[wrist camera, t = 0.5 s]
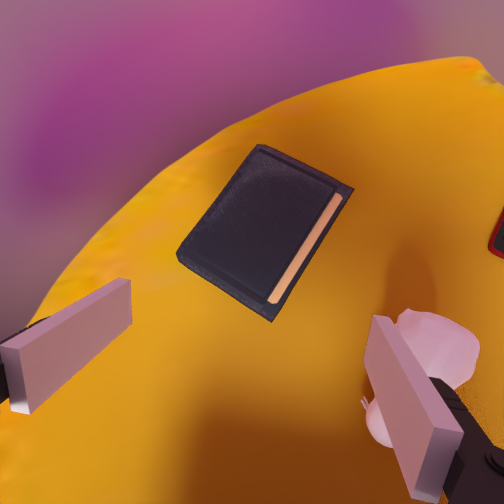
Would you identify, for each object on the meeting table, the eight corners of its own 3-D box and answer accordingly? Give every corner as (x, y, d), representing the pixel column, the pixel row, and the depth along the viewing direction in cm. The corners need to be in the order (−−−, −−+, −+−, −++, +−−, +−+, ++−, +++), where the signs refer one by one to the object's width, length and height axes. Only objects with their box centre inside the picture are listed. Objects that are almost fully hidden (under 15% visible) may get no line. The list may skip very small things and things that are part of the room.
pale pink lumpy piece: (510, 340, 21) (447, 503, 19) (449, 334, 29) (402, 448, 27) (422, 298, 22) (357, 446, 20) (388, 304, 30) (340, 410, 29)
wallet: (259, 134, 38) (362, 185, 34) (260, 143, 40) (358, 193, 36) (164, 251, 34) (269, 325, 30) (170, 256, 36) (269, 326, 32)
